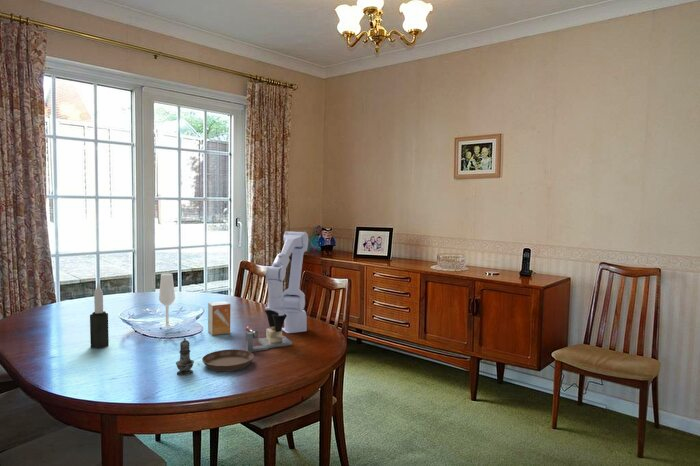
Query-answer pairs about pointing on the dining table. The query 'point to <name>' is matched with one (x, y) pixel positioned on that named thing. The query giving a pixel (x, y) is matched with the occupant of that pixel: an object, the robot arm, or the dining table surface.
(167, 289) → the champagne flute
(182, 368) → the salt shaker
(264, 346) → the grey panel board
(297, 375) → the dining table surface
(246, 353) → the plant saucer
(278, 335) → the block
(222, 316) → the small box
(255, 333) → the lever
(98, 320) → the black and grey bottle
